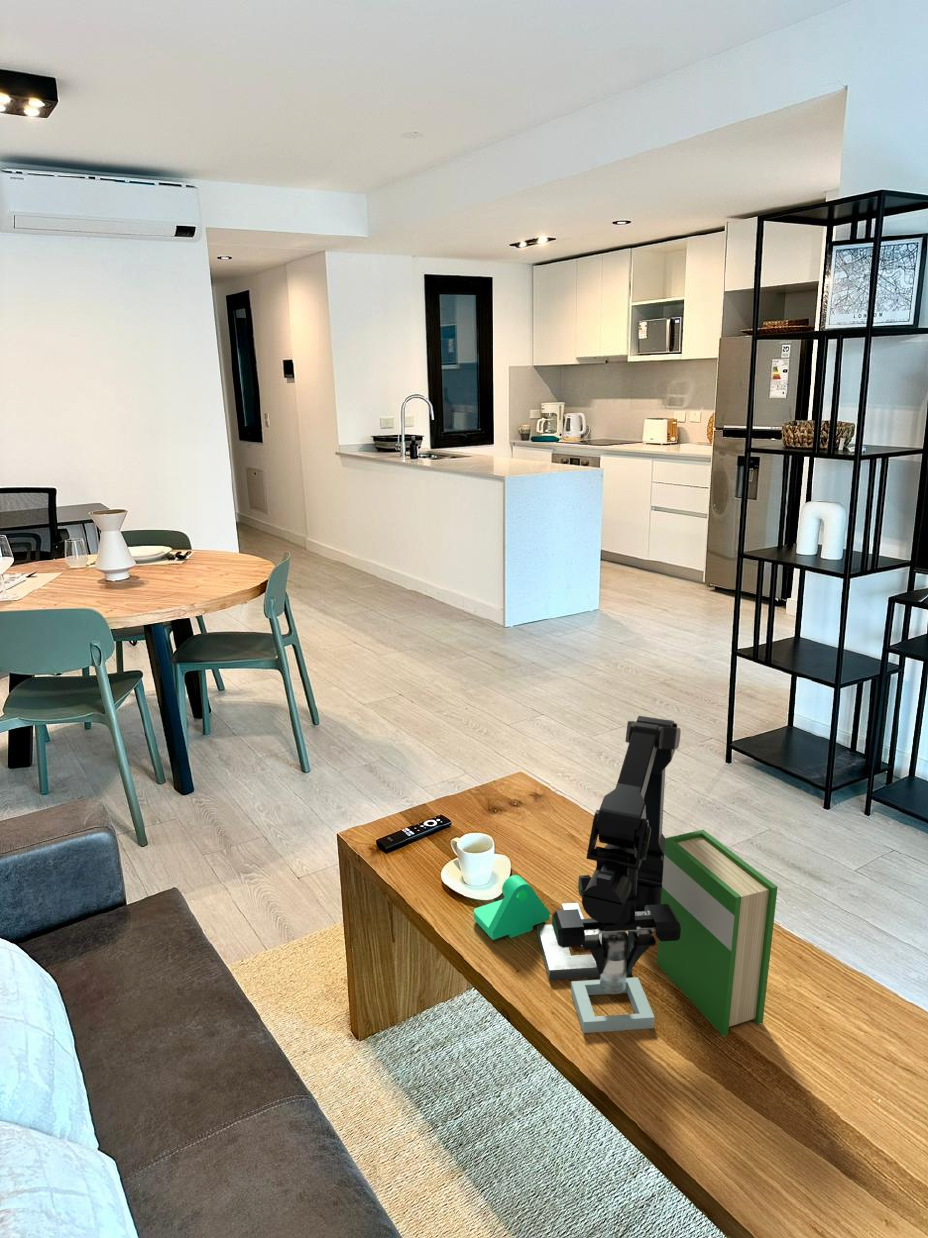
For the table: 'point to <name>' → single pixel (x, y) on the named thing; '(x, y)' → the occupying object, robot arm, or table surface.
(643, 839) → the robot arm
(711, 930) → the hardback book
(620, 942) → the chrome metal cylinder
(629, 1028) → the square frame
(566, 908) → the grey rectangular block
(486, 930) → the camera mount
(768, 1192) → the table surface
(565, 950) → the socket block
